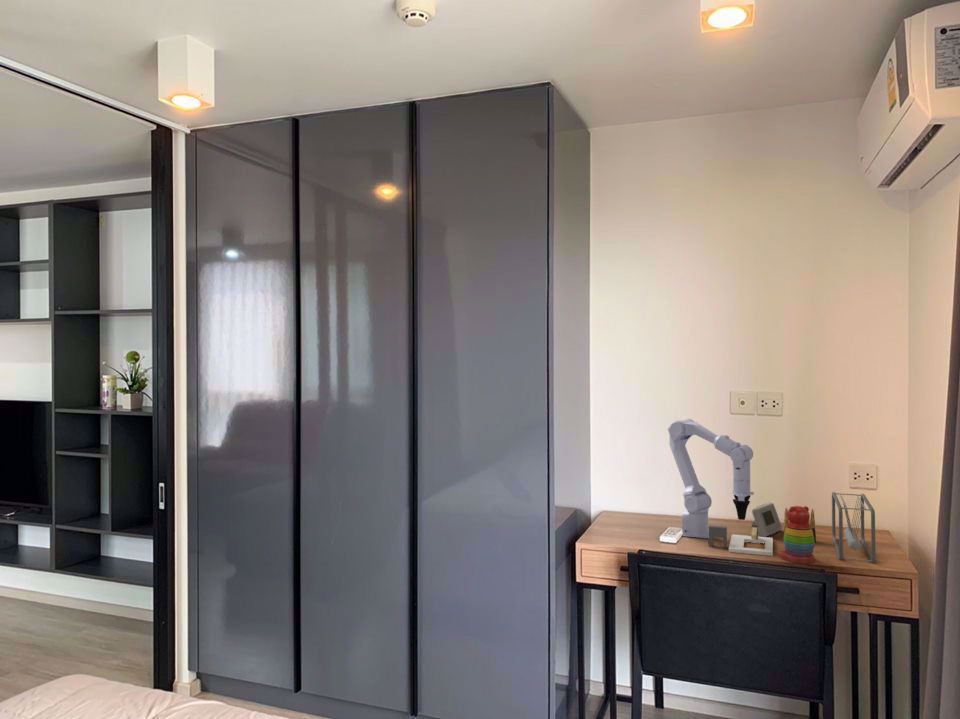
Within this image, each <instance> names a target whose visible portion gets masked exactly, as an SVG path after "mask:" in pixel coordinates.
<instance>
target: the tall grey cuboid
mask: <svg viewBox="0 0 960 719" xmlns="http://www.w3.org/2000/svg"><path fill="white" fill-rule="evenodd" d="M708 532H709V538H708V547H710V546H712V547H713V546H714V545H713V544H714V538H718V539H719V538H720V539H722V548H723V547H724V549H727V548H728V526H725V525H724V526H721V525H712V524H711V525H709V524H708Z"/></svg>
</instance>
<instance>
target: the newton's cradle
mask: <svg viewBox="0 0 960 719" xmlns="http://www.w3.org/2000/svg"><path fill="white" fill-rule="evenodd" d="M837 495H839V497H840V499H841V501H842V503H843V504H841V502H840V500H839V498H838V496H837ZM843 496H850V498H851V499H850V500H851V501H849V500H848V502H849V503H847V502H846V501H845V499H844V497H843ZM852 496H856V497H852ZM852 498H855V499H852ZM852 500H853V501H852ZM854 500H855V504H856V505H854V508H853V507H852V508H851V507H847V506H848V504H849V505H851V504H852V503H854ZM845 502H846V503H845ZM851 502H852V503H851ZM846 504H847V505H846ZM842 505H843V507H842ZM865 505H866V506H867V507H866V506H865ZM836 507H837V509H838V538H837V536H836ZM867 508H868V509H867ZM843 510H844V513H845V517H846V523H847V528H845V529H843V528H844V527H843V525H844V524H843V523H844V522H843V517H844V514H843ZM849 510H852V511H853V510H854V511H853V515H852V518H853V519H852V520H850V516H849ZM865 511H869V512H870V529H871V530H870V534H871V535H870V536H871V538H870V541H871V542H870V543H871V544H870V545H871V550H870V549H869V547H868V544H867V542H866V539H865ZM851 521H852V522H851ZM857 527H858V528H857ZM859 527H860V538H859V537H858V532H859ZM843 531H844V532H843ZM831 536H832V542H833V545H834V548H835V550H836V553H837V557H838V559H839V561H842V560H851V561H862V562H863V561H864V562H871V563H872V564H875V563H876V512H875V509H874V507H873V506H872V504H871V503H870V501H869V500H868V497H867V496H866V495H865V494H864V493H860V494H857V493H856V494H855V493H854V494H853V493H841V492H839V493H837V492H834V491H832V492H831ZM844 537H845V539H843V538H844ZM844 541H846V542H847V545H848V548H850V550H852V551H858V550H860V549H861V547H862V546H863V548H864V550H865V553H866V554H867V556H868V558H869V559H862V558H861V559H859V558H850V557H844Z"/></svg>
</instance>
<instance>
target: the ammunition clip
mask: <svg viewBox="0 0 960 719" xmlns="http://www.w3.org/2000/svg"><path fill="white" fill-rule="evenodd" d="M788 510H789V509H788V507H785V509H784V516H783V534H784V533H785V528H786V526H787V524H788V523H789V522H790V521H789V519H788V517H787V512H788ZM807 524H809V525H810V527H811V529H812V531H813V536H814V541H815V542H814V543H817V537H816V535H817V534H816V519H815V511H814V509H813V508H811V510H810V519H809V521H808V523H807ZM782 539H783V540H784V537H783V538H782Z"/></svg>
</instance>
